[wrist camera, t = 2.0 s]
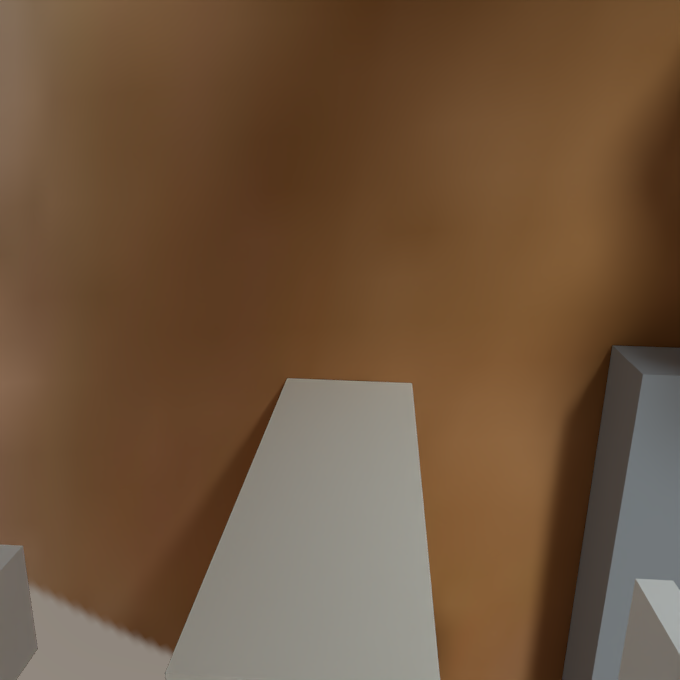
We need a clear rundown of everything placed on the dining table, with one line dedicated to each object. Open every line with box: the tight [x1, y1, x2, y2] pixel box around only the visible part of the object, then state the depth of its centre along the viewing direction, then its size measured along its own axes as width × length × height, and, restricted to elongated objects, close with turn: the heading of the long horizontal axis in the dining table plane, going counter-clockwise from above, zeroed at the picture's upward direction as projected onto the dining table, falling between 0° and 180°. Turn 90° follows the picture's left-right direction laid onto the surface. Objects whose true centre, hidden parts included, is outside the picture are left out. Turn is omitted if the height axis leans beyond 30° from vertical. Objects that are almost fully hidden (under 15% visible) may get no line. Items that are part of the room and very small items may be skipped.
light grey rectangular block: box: [165, 378, 440, 680], centre depth 16 cm, size 4×4×12 cm
